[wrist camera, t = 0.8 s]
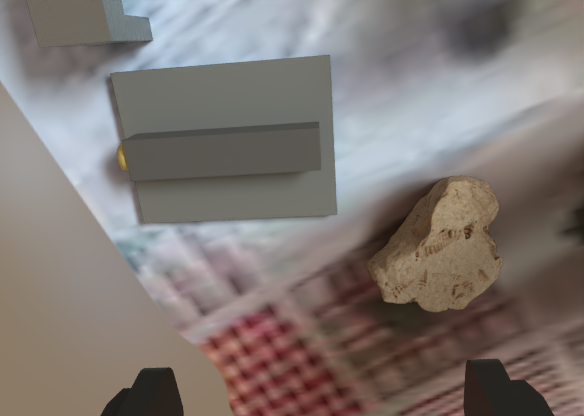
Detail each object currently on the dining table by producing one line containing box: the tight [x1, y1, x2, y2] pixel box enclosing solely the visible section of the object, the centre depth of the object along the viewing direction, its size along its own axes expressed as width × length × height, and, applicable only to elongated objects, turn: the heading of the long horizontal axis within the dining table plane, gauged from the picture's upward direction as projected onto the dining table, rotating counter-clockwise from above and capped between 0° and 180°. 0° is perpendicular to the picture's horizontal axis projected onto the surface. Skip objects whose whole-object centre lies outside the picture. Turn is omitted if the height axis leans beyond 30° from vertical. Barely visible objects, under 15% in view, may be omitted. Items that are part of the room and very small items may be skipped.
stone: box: [367, 176, 503, 312], centre depth 33 cm, size 9×11×5 cm
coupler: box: [110, 55, 337, 224], centre depth 32 cm, size 12×16×4 cm
